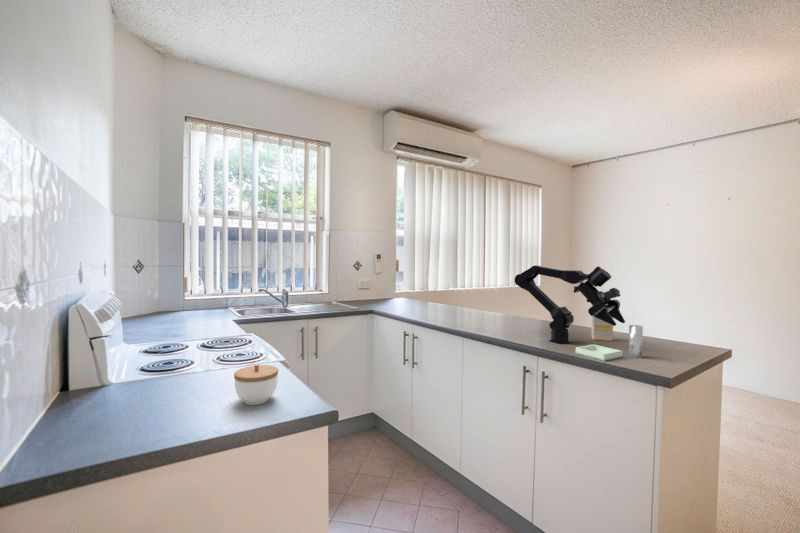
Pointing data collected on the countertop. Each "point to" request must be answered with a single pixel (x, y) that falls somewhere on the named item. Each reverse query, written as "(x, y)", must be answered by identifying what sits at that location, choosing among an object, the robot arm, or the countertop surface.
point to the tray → (599, 352)
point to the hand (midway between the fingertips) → (619, 323)
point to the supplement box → (601, 330)
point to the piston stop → (635, 341)
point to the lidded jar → (256, 383)
